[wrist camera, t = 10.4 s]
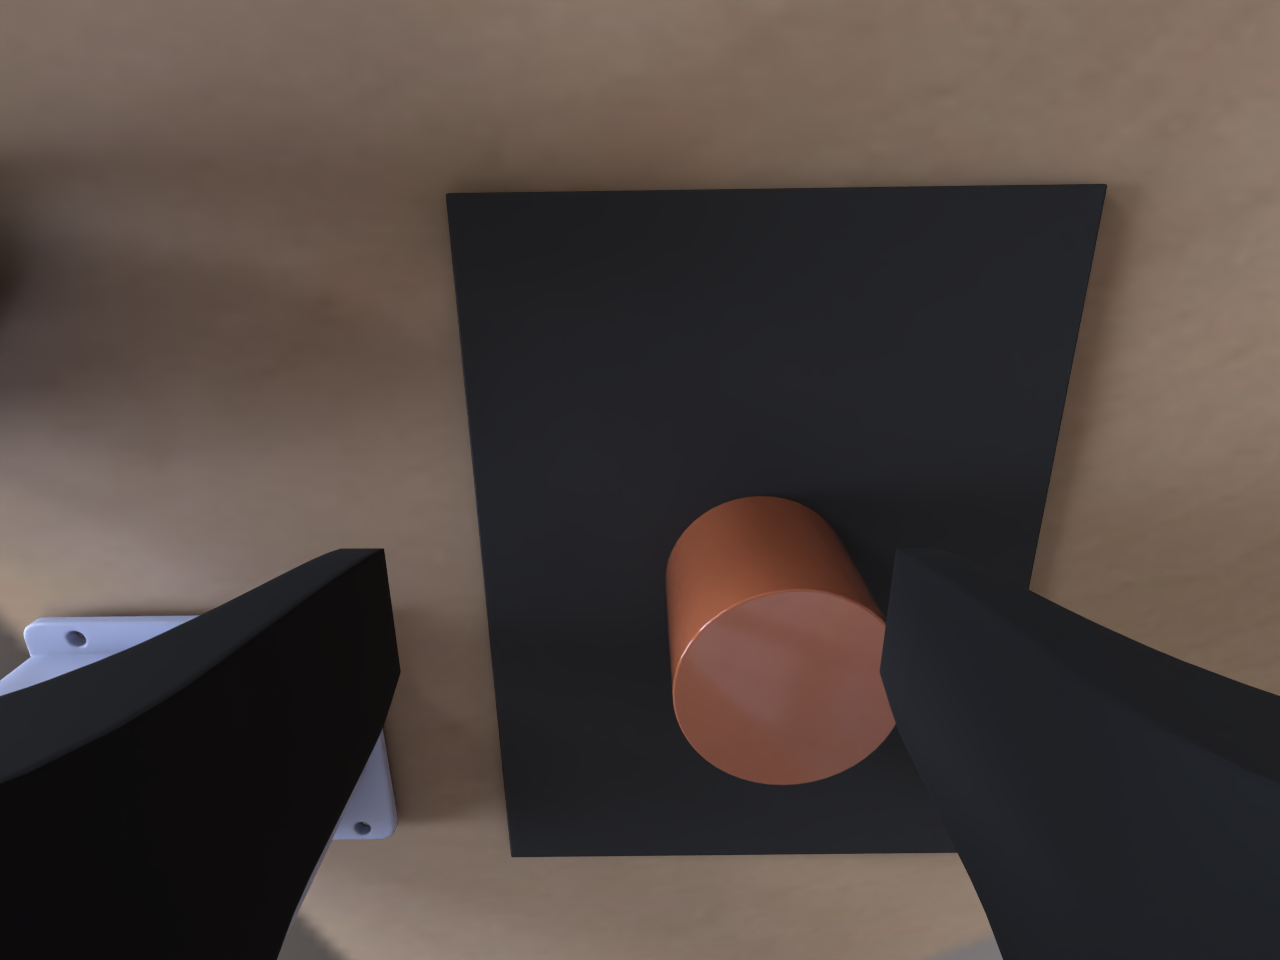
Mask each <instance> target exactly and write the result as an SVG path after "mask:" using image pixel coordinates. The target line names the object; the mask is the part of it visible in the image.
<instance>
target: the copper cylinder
mask: <svg viewBox="0 0 1280 960" xmlns="http://www.w3.org/2000/svg"><path fill="white" fill-rule="evenodd" d="M665 587H666V602H667V618H668V633H669V649H670V664H671V680H672V695H673V706H674V711H675V715H676V719H677V721H678V723H679V726H680V728H681V730H682V732H683V734H684V735H685V737H686V739H687V740H688V742H689V743H690V744H691V745H692V746H693V748H694V749H695V750H696V751H697V752H698V753H699V754H700V755H701V756H702V757H703V758H704V759H705V760H707V761H708V762H710V763H711V764H712V765H714V766H715V767H717V768H719V769H720V770H722V771H724V772H726V773H728V774H730V775H733V776H735V777H738V778H741V779H744V780H748V781H752V782H756V783H762V784H769V785H794V784H803V783H809V782H814V781H818V780H821V779H825V778H828V777H831V776H833V775H836V774H838V773H841V772H843V771H845V770H847V769H849V768H851V767H853V766H854V765H856V764H857V763H859V762H860V761H862V760H863V759H865V758H866V757H867V756H869V755H870V754H871V753H872V752H873V751H875V750H876V749H877V748H878V747H879V746H880V745H881V744H882V742H883V741H884V740H885V739H886V738H887V737H888V735H889V734H890V733H891V731H892V730H893V728H894V727H895V725H896V722H895V720H894V717H893V714H892V711H891V708H890V705H889V702H888V698H887V695H886V692H885V688H884V685H883V682H882V679H881V675H880V672H879V671H880V664H881V656H882V649H883V642H884V634H885V627H886V618H885V616H884V615H883V613H882V611H881V609H880V608H879V606H878V604H877V602H876V601H875V599H874V597H873V595H872V594H871V592H870V590H869V588H868V587H867V585H866V583H865V581H864V580H863V578H862V576H861V574H860V573H859V571H858V569H857V567H856V566H855V564H854V562H853V561H852V559H851V557H850V555H849V554H848V552H847V550H846V548H845V547H844V545H843V543H842V541H841V540H840V538H839V536H838V535H837V533H836V532H835V530H834V529H833V528H832V527H831V525H830V524H829V523H828V522H827V521H826V520H825V519H824V518H822V517H821V516H820V515H819V514H818V513H816V512H815V511H813V510H811V509H810V508H808V507H806V506H804V505H802V504H800V503H797V502H794V501H791V500H788V499H784V498H778V497H771V496H754V497H745V498H740V499H735V500H732V501H729V502H726V503H723V504H721V505H719V506H717V507H714V508H712V509H711V510H709V511H708V512H706V513H704V514H703V515H701V516H700V517H699V518H698V519H696V520H695V521H694V522H693V523H692V524H691V525H690V526H689V527H688V528H687V529H686V530H685V531H684V532H683V534H682V535H681V536H680V538H679V539H678V541H677V542H676V544H675V546H674V548H673V550H672V552H671V555H670V557H669V560H668V564H667V569H666V577H665Z"/></svg>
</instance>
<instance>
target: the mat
mask: <svg viewBox="0 0 1280 960" xmlns="http://www.w3.org/2000/svg"><path fill="white" fill-rule="evenodd" d="M1106 188H1107V185H1106V184H1067V185H997V186H926V187H856V188H786V189H716V190H645V191H575V192H505V193H448V194H446V201H447V211H448V221H449V231H450V241H451V251H452V262H453V272H454V282H455V292H456V302H457V312H458V322H459V332H460V343H461V353H462V363H463V373H464V383H465V393H466V403H467V413H468V424H469V434H470V444H471V454H472V464H473V474H474V484H475V494H476V505H477V515H478V525H479V535H480V545H481V555H482V565H483V575H484V585H485V596H486V606H487V616H488V626H489V636H490V646H491V656H492V666H493V677H494V687H495V697H496V707H497V717H498V727H499V737H500V747H501V758H502V768H503V778H504V788H505V798H506V808H507V818H508V828H509V839H510V849H511V856H512V857H571V856H669V855H767V854H866V853H957V850H956V848H955V846H954V844H953V842H952V840H951V838H950V836H949V834H948V832H947V830H946V828H945V826H944V824H943V822H942V820H941V818H940V816H939V814H938V812H937V810H936V808H935V806H934V804H933V802H932V800H931V798H930V796H929V794H928V792H927V790H926V788H925V786H924V784H923V782H922V780H921V778H920V776H919V774H918V772H917V770H916V767H915V765H914V763H913V761H912V759H911V757H910V755H909V753H908V751H907V749H906V747H905V745H904V742H903V740H902V738H901V736H900V734H899V731H898V728H897V725H895V727H894V728H893V730H892V731H891V733H890V734H889V735H888V737H887V738H886V739H885V740H884V741H883V742H882V744H881V745H880V746H879V747H878V748H877V749H876V750H875V751H873V752H872V753H871V754H870V755H869V756H867V757H866V758H865V759H863V760H862V761H860V762H859V763H857V764H856V765H854V766H853V767H851V768H849V769H847V770H845V771H843V772H841V773H838V774H836V775H833V776H831V777H828V778H825V779H821V780H818V781H814V782H809V783H803V784H794V785H769V784H762V783H756V782H752V781H748V780H744V779H741V778H738V777H735V776H733V775H730V774H728V773H726V772H724V771H722V770H720V769H719V768H717V767H715V766H714V765H712V764H711V763H710V762H708V761H707V760H705V759H704V758H703V757H702V756H701V755H700V754H699V753H698V752H697V751H696V750H695V749H694V748H693V746H692V745H691V744H690V743H689V742H688V740H687V739H686V737H685V735H684V734H683V732H682V730H681V728H680V726H679V723H678V721H677V719H676V715H675V711H674V706H673V695H672V680H671V664H670V649H669V633H668V618H667V602H666V587H665V577H666V569H667V564H668V560H669V557H670V555H671V552H672V550H673V548H674V546H675V544H676V542H677V541H678V539H679V538H680V536H681V535H682V534H683V532H684V531H685V530H686V529H687V528H688V527H689V526H690V525H691V524H692V523H693V522H694V521H695V520H696V519H698V518H699V517H700V516H701V515H703V514H704V513H706V512H708V511H709V510H711V509H712V508H714V507H717V506H719V505H721V504H723V503H726V502H729V501H732V500H735V499H740V498H745V497H754V496H771V497H778V498H784V499H788V500H791V501H794V502H797V503H800V504H802V505H804V506H806V507H808V508H810V509H811V510H813V511H815V512H816V513H818V514H819V515H820V516H821V517H822V518H824V519H825V520H826V521H827V522H828V523H829V524H830V525H831V527H832V528H833V529H834V530H835V532H836V533H837V535H838V536H839V538H840V540H841V541H842V543H843V545H844V547H845V548H846V550H847V552H848V554H849V555H850V557H851V559H852V561H853V562H854V564H855V566H856V567H857V569H858V571H859V573H860V574H861V576H862V578H863V580H864V581H865V583H866V585H867V587H868V588H869V590H870V592H871V594H872V595H873V597H874V599H875V601H876V602H877V604H878V606H879V608H880V609H881V611H882V613H883V615H884V616H885V618H886V620H887V612H888V605H889V597H890V590H891V583H892V575H893V568H894V560H895V553H896V549H942V550H945V551H948V552H951V553H954V554H956V555H959V556H961V557H963V558H965V559H968V560H970V561H972V562H974V563H976V564H978V565H980V566H982V567H984V568H986V569H988V570H990V571H992V572H994V573H996V574H998V575H1000V576H1002V577H1004V578H1006V579H1008V580H1010V581H1012V582H1014V583H1016V584H1018V585H1020V586H1022V587H1024V588H1026V589H1029V584H1030V579H1031V574H1032V569H1033V563H1034V558H1035V553H1036V548H1037V543H1038V538H1039V533H1040V528H1041V522H1042V517H1043V512H1044V507H1045V502H1046V497H1047V492H1048V486H1049V481H1050V476H1051V471H1052V466H1053V461H1054V456H1055V450H1056V445H1057V440H1058V435H1059V430H1060V425H1061V420H1062V414H1063V409H1064V404H1065V399H1066V394H1067V389H1068V384H1069V378H1070V373H1071V368H1072V363H1073V358H1074V353H1075V348H1076V342H1077V337H1078V332H1079V327H1080V322H1081V317H1082V312H1083V307H1084V301H1085V296H1086V291H1087V286H1088V281H1089V276H1090V271H1091V265H1092V260H1093V255H1094V250H1095V245H1096V240H1097V235H1098V229H1099V224H1100V219H1101V214H1102V209H1103V204H1104V199H1105V193H1106Z"/></svg>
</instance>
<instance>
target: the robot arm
mask: <svg viewBox="0 0 1280 960" xmlns="http://www.w3.org/2000/svg"><path fill="white" fill-rule="evenodd" d="M77 631H78V632H80V633H82V634H83V635H84V636H85V638H86V639H85V638H83V637H81V636H80V635H79V634H78V632H77ZM24 639H25V642H26V644H27V647H28V650H29V653H30V656H31V658H29V659H28V660H27V661H25V662H24V663H23V664H21V665H20V666H19V667H18V668H16V669H15V670H14V671H12V672H11V673H10V674H8V675H7V676H6V677H5V678H3V679H2V680H1V681H0V960H277V958H278V955H279V952H280V949H281V947H282V945H283V943H284V941H285V938H286V936H287V934H288V932H289V930H290V928H291V926H292V924H293V922H294V919H295V917H296V915H297V913H298V911H299V909H300V907H301V905H302V902H303V900H304V898H305V896H306V894H307V892H308V890H309V888H310V886H311V883H312V881H313V879H314V877H315V875H316V873H317V871H318V869H319V867H320V864H321V862H322V860H323V858H324V856H325V854H326V852H327V850H328V848H329V845H330V843H331V841H332V840H354V839H385V838H388V837H390V836H392V835H393V833H394V832H395V829H396V827H397V824H398V817H397V811H396V805H395V799H394V793H393V787H392V781H391V775H390V769H389V763H388V757H387V751H386V745H385V739H384V733H383V725H384V722H385V719H386V717H387V714H388V711H389V708H390V705H391V701H392V698H393V695H394V692H395V688H396V685H397V682H398V679H399V675H400V672H401V671H400V664H399V657H398V649H397V642H396V635H395V627H394V620H393V612H392V605H391V598H390V590H389V583H388V575H387V568H386V561H385V553H384V549H338V550H335V551H332V552H329V553H327V554H324V555H322V556H320V557H317V558H315V559H313V560H311V561H309V562H307V563H304V564H302V565H300V566H298V567H296V568H294V569H292V570H290V571H288V572H286V573H284V574H282V575H280V576H278V577H276V578H274V579H272V580H270V581H268V582H266V583H264V584H262V585H261V586H259V587H257V588H255V589H253V590H251V591H249V592H247V593H245V594H243V595H241V596H239V597H237V598H235V599H233V600H231V601H229V602H227V603H225V604H223V605H221V606H219V607H217V608H215V609H213V610H211V611H208V612H206V613H204V614H202V615H192V616H106V617H43V618H38V619H37V620H36V621H34V622H33V623H31V624H30V625H29V626H27V627H26V628H25V631H24ZM879 672H880V675H881V679H882V682H883V685H884V688H885V692H886V695H887V698H888V702H889V705H890V708H891V711H892V714H893V717H894V720H895V722H896V725H897V728H898V731H899V734H900V736H901V738H902V740H903V742H904V745H905V747H906V749H907V751H908V753H909V755H910V757H911V759H912V761H913V763H914V765H915V767H916V770H917V772H918V774H919V776H920V778H921V780H922V782H923V784H924V786H925V788H926V790H927V792H928V794H929V796H930V798H931V800H932V802H933V804H934V806H935V808H936V810H937V812H938V814H939V816H940V818H941V820H942V822H943V824H944V826H945V828H946V830H947V832H948V834H949V836H950V838H951V840H952V842H953V844H954V846H955V848H956V850H957V853H958V855H959V857H960V859H961V861H962V863H963V865H964V867H965V869H966V871H967V873H968V875H969V877H970V879H971V881H972V883H973V886H974V888H975V890H976V892H977V895H978V897H979V899H980V901H981V904H982V906H983V908H984V910H985V913H986V915H987V918H988V920H989V923H990V926H991V928H992V931H993V934H994V936H995V939H996V942H997V944H998V947H999V950H1000V952H1001V955H1002V958H1003V960H1280V696H1278V695H1275V694H1272V693H1269V692H1266V691H1263V690H1260V689H1257V688H1254V687H1251V686H1248V685H1246V684H1243V683H1240V682H1238V681H1235V680H1232V679H1230V678H1227V677H1224V676H1222V675H1219V674H1216V673H1214V672H1211V671H1208V670H1206V669H1203V668H1200V667H1198V666H1195V665H1192V664H1190V663H1187V662H1184V661H1182V660H1179V659H1177V658H1174V657H1172V656H1169V655H1167V654H1165V653H1162V652H1160V651H1157V650H1155V649H1153V648H1150V647H1148V646H1146V645H1143V644H1141V643H1139V642H1137V641H1135V640H1132V639H1130V638H1128V637H1126V636H1123V635H1121V634H1119V633H1117V632H1114V631H1112V630H1110V629H1108V628H1106V627H1103V626H1101V625H1099V624H1097V623H1095V622H1093V621H1091V620H1088V619H1086V618H1084V617H1082V616H1080V615H1078V614H1076V613H1074V612H1072V611H1070V610H1068V609H1066V608H1064V607H1062V606H1060V605H1058V604H1056V603H1054V602H1052V601H1050V600H1048V599H1046V598H1044V597H1042V596H1040V595H1038V594H1036V593H1034V592H1032V591H1030V590H1028V589H1026V588H1024V587H1022V586H1020V585H1018V584H1016V583H1014V582H1012V581H1010V580H1008V579H1006V578H1004V577H1002V576H1000V575H998V574H996V573H994V572H992V571H990V570H988V569H986V568H984V567H982V566H980V565H978V564H976V563H974V562H972V561H970V560H968V559H965V558H963V557H961V556H959V555H956V554H954V553H951V552H948V551H945V550H942V549H896V553H895V560H894V568H893V575H892V583H891V590H890V597H889V605H888V612H887V620H886V627H885V634H884V642H883V649H882V656H881V664H880V671H879ZM361 822H365V823H367V824H369V825H365V824H363V823H361Z"/></svg>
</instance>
